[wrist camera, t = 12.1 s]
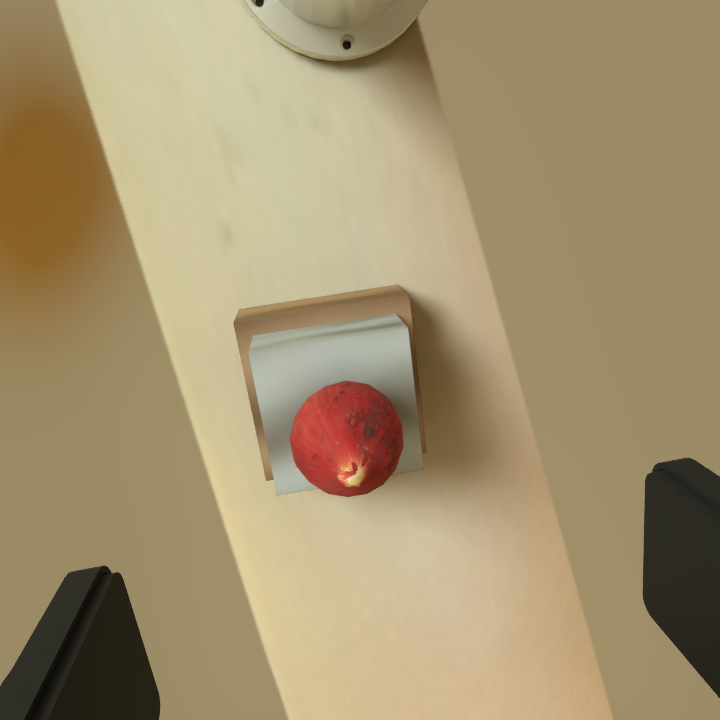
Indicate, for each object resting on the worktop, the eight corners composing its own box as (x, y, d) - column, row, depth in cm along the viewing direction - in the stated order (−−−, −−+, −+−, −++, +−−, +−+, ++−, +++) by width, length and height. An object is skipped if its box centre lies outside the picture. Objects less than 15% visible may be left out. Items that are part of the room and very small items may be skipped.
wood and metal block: (239, 309, 38) (226, 339, 31) (397, 284, 39) (423, 307, 32) (268, 454, 42) (263, 513, 34) (414, 428, 43) (441, 481, 35)
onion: (329, 344, 32) (341, 393, 24) (410, 397, 33) (445, 460, 26) (271, 425, 33) (265, 496, 25) (352, 473, 34) (369, 555, 27)
